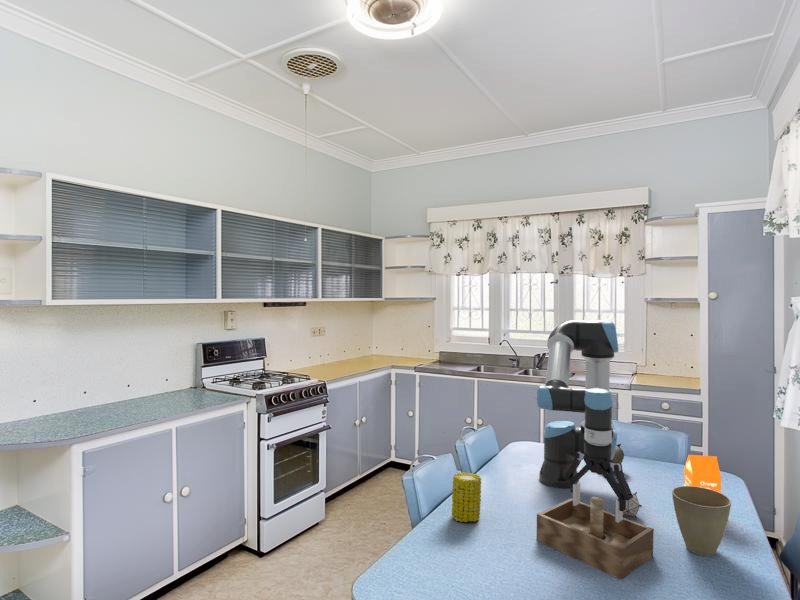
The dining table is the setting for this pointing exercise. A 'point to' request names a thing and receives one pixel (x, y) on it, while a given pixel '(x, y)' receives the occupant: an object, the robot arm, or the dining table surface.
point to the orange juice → (702, 472)
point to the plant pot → (701, 517)
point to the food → (466, 497)
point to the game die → (632, 506)
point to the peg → (596, 517)
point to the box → (596, 538)
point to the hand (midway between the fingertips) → (597, 512)
